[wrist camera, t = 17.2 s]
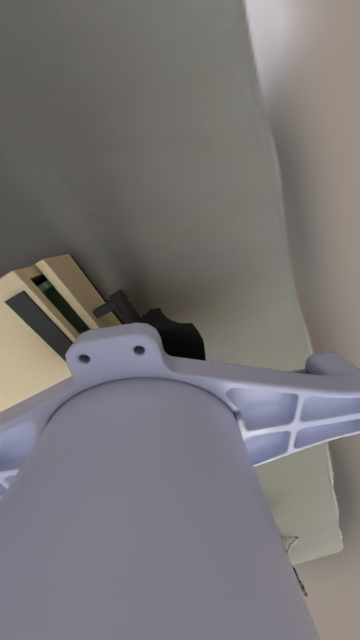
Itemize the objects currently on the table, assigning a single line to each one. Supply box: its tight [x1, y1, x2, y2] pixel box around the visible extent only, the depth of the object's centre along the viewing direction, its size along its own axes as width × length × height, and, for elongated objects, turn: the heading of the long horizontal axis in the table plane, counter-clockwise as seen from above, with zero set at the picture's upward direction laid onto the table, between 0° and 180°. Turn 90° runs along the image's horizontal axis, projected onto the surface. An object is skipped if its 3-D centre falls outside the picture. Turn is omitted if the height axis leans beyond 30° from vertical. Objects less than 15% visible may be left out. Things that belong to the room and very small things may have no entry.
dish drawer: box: [0, 265, 80, 412], centre depth 15 cm, size 14×12×5 cm
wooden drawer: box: [35, 254, 141, 334], centre depth 15 cm, size 14×14×3 cm
